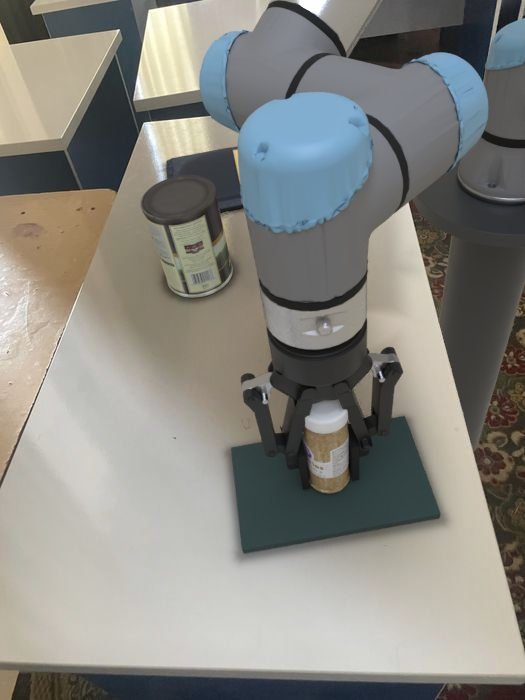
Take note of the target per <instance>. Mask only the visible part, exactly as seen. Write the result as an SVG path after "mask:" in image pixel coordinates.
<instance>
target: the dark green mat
mask: <svg viewBox="0 0 525 700" xmlns="http://www.w3.org/2000/svg"><path fill="white" fill-rule="evenodd" d="M302 440H303V445H304V433H303V434H302ZM371 440H372V443H373V447H372V448H371V449H369V454H368V455H367V456H362V457H359V480H355V481H352V478H351V474H350V479H349V481H348V483H347V485H346V486H345V487H344V488H343V489H342V490H341V491H338V492H335V493H330V494H328V493H322V492H319V491H317V490H316V489H314V488H313V487H312V486H311V485H310V489H306V490H303V487H302V482H301V477H300V472H299V468H298V469H293V470H289V469H288V468H287V462H286V457H285V454H283V453H278V454H277V455H276V456H274V457H268V456H266V455H265V451H264V447H263V443H262V441H260V442H254V443H249V444H248V443H247V444H243V445H238V446H233V447H231V448H230V451H231V459H232V469H233V479H234V487H235V496H236V507H237V514H238V523H239V524H238V525H239V532H240V534H239V535H240V542H241V549H242V553H243V554H247V553H248V554H249V553H254V552H260V551H264V550H269V549H275V548H282V547H287V546H292V545H298V544H302V543H309V542H314V541H315V542H316V541H321V540H326V539H330V538H336V537H341V536H348V535H352V534H358V533H364V532H369V531H374V530H381V529H386V528H392V527H397V526H402V525H403V526H404V525H409V524H414V523H418V522H419V523H420V522H424V521H430V520H435V519H440V518H441V515H442V514H441V511H440V508H439V505H438V503H437V500H436V497H435V494H434V491H433V489H432V486H431V483H430V480H429V478H428V476H427V475H428V474H427V472H426V470H425V466H424V464H423V462H422V458H421V456H420V453H419V451H418V448H417V445H416V443H415V440H414V437H413V434H412V432H411V429H410V426H409V423H408V421H407V418H406V416H405V415H402V416H397V417H392V418H391V428H390V433H389V434H388V435H386V436H378V434H376V435H373V436H372V437H371ZM304 450H305V447H304ZM309 484H310V483H309Z"/></svg>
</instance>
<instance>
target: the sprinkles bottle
mask: <svg viewBox="0 0 525 700" xmlns="http://www.w3.org/2000/svg"><path fill="white" fill-rule="evenodd" d="M348 424H349V420H348V411H347V410H346V409H343V408H342V406H341V404H340V402H339V400H324V401H321V402H318V403H315V404H312V408H311V412H310V415H309V416H307V417H305V426H304V430H303V434H304V447H305V455H306V461H307V469H308V476H309V483H310V485H311V486H312V487H313V488H314V489H316V490H317V491H319V492H322V493H328V494H330V493H335V492H338V491H341V490H342V489H343V488H344V487H345V486H346V485H347V483H348V481H349V479H350V471H349V430H348Z"/></svg>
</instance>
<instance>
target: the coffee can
mask: <svg viewBox="0 0 525 700" xmlns="http://www.w3.org/2000/svg"><path fill="white" fill-rule="evenodd" d="M140 210H141V211H142V214H143V215H144V217H145V220H146V224H147V226H148V229H149V232H150V235H151V238H152V240H153V243H154V246H155V250H156V253H157V255H158V258H159V261H160V263H161V266H162V270H163V272H164V276H165V279H166V283H167V285H168V287H169V289H170V290H171V292H173V293H174V294H176V295H178V296H181V297H184V298H188V299H189V298H191V299H193V298H194V299H195V298H197V299H198V298H203V297H207V296H210V295H213V294H215V293H218V292H219V291H220V290H222V289H223V288H224V287H225V286H226V285H227V284H228V283H230V281H231V279H232V277H233V273H234V267H233V264H232V260H231V256H230V252H229V247H228V243H227V240H226V239H227V238H226V234H225V230H224V225H223V222H222V216H221V212H220V211H219V207H218V202H217V197H216V188H215V186H214V184H213V183H212V182H211V181H210V180H208V179H206V178H204V177H201V176H196V175H182V176H176V177H172V178H168V179H167V178H166V179H163V180H161V181H159V182H157V183H155V184H154V185H152V186H150V188H148V189H147V190H146V191H145V192H144V194H143V195H142V196H141V199H140Z"/></svg>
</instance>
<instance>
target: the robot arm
mask: <svg viewBox="0 0 525 700" xmlns="http://www.w3.org/2000/svg"><path fill="white" fill-rule="evenodd" d="M383 1H384V0H269V2H268V3H267V6H266V8H265V10H264V11H263V12H262V14H261V16H260V18H259V19H258V21H257V23H256V25H255V27H254V28H253V30H252V31H250V30H247V29H242V30H231V31H228V32H225V34H224V33H223V34H222V35H221V36H220V37H219V38H218V39H215V40H213V42H211V44H210V45H209V47H208V49H207V51H206V52H205V54H204V56H203V58H202V62H201V66H200V71H199V78H198V79H199V80H198V81H199V82H198V83H199V84H198V85H199V93H200V98H201V102H202V104H203V106H204V108H205V110H206V112H207V113H208V114H209V115H210V118H211V119H212V120H214V121H215V122H217V123H218V124H220V125H222V126H223V127H225V128H227V129H229V130H230V131H231V130H232V131H233V132H235V133H237V134H238V136H237V146H236V147H237V149H238V166H239V175H240V195H241V203H242V204H243V208H242V209H243V211H244V214H245V219H246V224H247V229H248V235H249V239H250V243H251V249H252V254H253V259H254V264H255V269H256V275H257V280H258V281H257V283H258V289H259V295H260V300H261V306H262V310H263V311H262V312H263V316H264V321H265V325H266V334H267V339H268V347H269V351H270V357H271V361H270V362H269V364H268V366H267V372H265V373H263V374H261V375H258V376H255V375H254V374H253V373H252V372H251V373H250V372H246V373H244V374H242V375H241V376H240V385H241V391H242V400H243V403H244V404H245V405H246V406H247V407H248V408H249V410H251V411H252V412H253V413H254V416H255V420H256V424H257V428H258V432H259V436H260V439H261V442H262V443H263V447H264V451H265V455H266V456H268V457H274V456H276V455H277V454H278V453H283V454H285V457H286V462H287V468H288V469H289V470H293V469H298V468H299V472H300V477H301V482H302V487H303V490H306V489H310V484H309V476H308V469H307V461H306V455H305V450H304V445H303V440H302V435H303V434H304V433H303V430H304V426H305V417H307V416H309V415H310V412H311V408H312V404H315V403H318V402H321V401H324V400H339V402H340V404H341V406H342V408H343V409H346V410H347V411H348V430H349V471H350V474H351V478H352V481H355V480H359V457H362V456H367V455H368V454H369V449H371V448H372V447H373V443H372V440H371V437H372V436H373V435H376V434H378V436H386V435H388V434H389V433H390V428H391V418H393V409H394V407H393V406H394V397H395V387H396V385H397V384H398V382H399V380H400V379H401V377H402V375H403V374H404V369H403V367H402V365H401V362H400V358H399V357H398V355H397V352H396V349H395V348H394V347H393V346H386V347H385V348H383V349H381V351H380V353H375V352H370V350H369V348H368V317H367V316H368V315H367V314H368V272H369V268H368V267H369V243H370V237H371V235H372V234H373V232H374V231H375V230H376V229H377V228H379V227H380V226H382V225H383V224H384V223H385V222H386V221H388V220H389V219H390V218H391V217H392V216H393V215H395V213H397V212H398V211H400V210H401V209H402V208H404V207H405V206H406V205H407V204H409V203H410V202H411V201H413V198H415V197H416V196H417V195H418V194H420V193H421V192H422V191H423V190H425V189H426V188H427V187H428V186H430V185H431V184H432V183H434V182H435V181H436V180H437V179H439V178H440V177H441V176H444V175H445V174H447V173H449V171H450V170H452V169H453V168H454V167H455V166H456V163H457V162H458V161H459V160H460V159H461V158H462V159H461V161H460V163H459V167H458V172H457V181H458V184H459V186H460V187H461V189H462V190H463V191H464V192H466V193H467V194H468V195H470V196H472V197H473V198H475V199H478V200H480V201H483V202H486V203H490V204H496V205H504V206H518V205H525V17H523V18H520V19H517V20H514V21H513V22H510V23H508V24H506V25H505V26H503V27H502V28H500V29H499V30H498V31H497V32H496V33H495V34H494V36H493V38H492V40H491V42H490V47H489V51H488V56H487V59H486V61H485V64H484V75H483V76H484V77H483V80H482V78H481V76H480V75H479V73H478V72H477V70H476V69H475V68H474V67H473V66H472V65H471V64H470V63H469V62H468V61H466V60H465V59H463V58H461V57H460V56H458V55H456V54H453V53H448V52H441V51H440V52H432V53H430V54H425V55H423V56H421V57H419V58H417V59H416V58H413V59H412V60H410V61H408V62H406V63H405V64H402V66H401V68H391V67H386V66H382V65H378V64H374V63H371V62H366V61H363V60H358V59H353V58H349V57H350V55H351V54H352V53H353V51H354V49H355V47H356V45H358V42H359V40H360V39H361V38H362V36H363V34H364V32H365V30H366V29H367V27H368V26H369V24H370V22H372V19H373V17H374V16H375V14H376V12H377V10H379V7H380V5H381V4H382V3H383ZM370 371H371V374H372V380H371V382H372V383H371V400H370V401H371V404H370V415H368V416H365V415H364V412H363V410H362V408H361V405H360V403H359V400H358V398H357V395H356V393H355V391H354V388H355V387H356V386H357V385H358V384H359V383H360V382H361V381H362V380H364V378H365V377H366V376H367V375H368V373H370ZM273 388H274V389H275V390H277V391H279V392H280V393H282V394H284V395H285V396H287V397H288V398H287V402H286V408H285V413H284V418H283V422H282V426H281V425H280V426H279V429H280V432H276V431H275V428H274V423H273V419H272V415H271V414H272V413H271V409H270V406H269V405H270V404H269V402H270V401H269V399H270V398H271V396H272V389H273Z"/></svg>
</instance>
